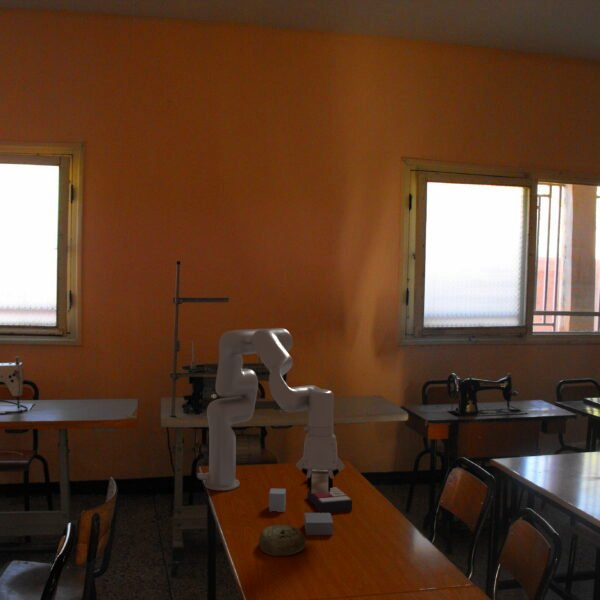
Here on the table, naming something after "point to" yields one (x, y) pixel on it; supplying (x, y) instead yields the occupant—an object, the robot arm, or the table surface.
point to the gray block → (277, 500)
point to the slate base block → (318, 524)
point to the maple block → (320, 481)
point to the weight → (281, 540)
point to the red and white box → (330, 501)
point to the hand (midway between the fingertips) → (320, 489)
